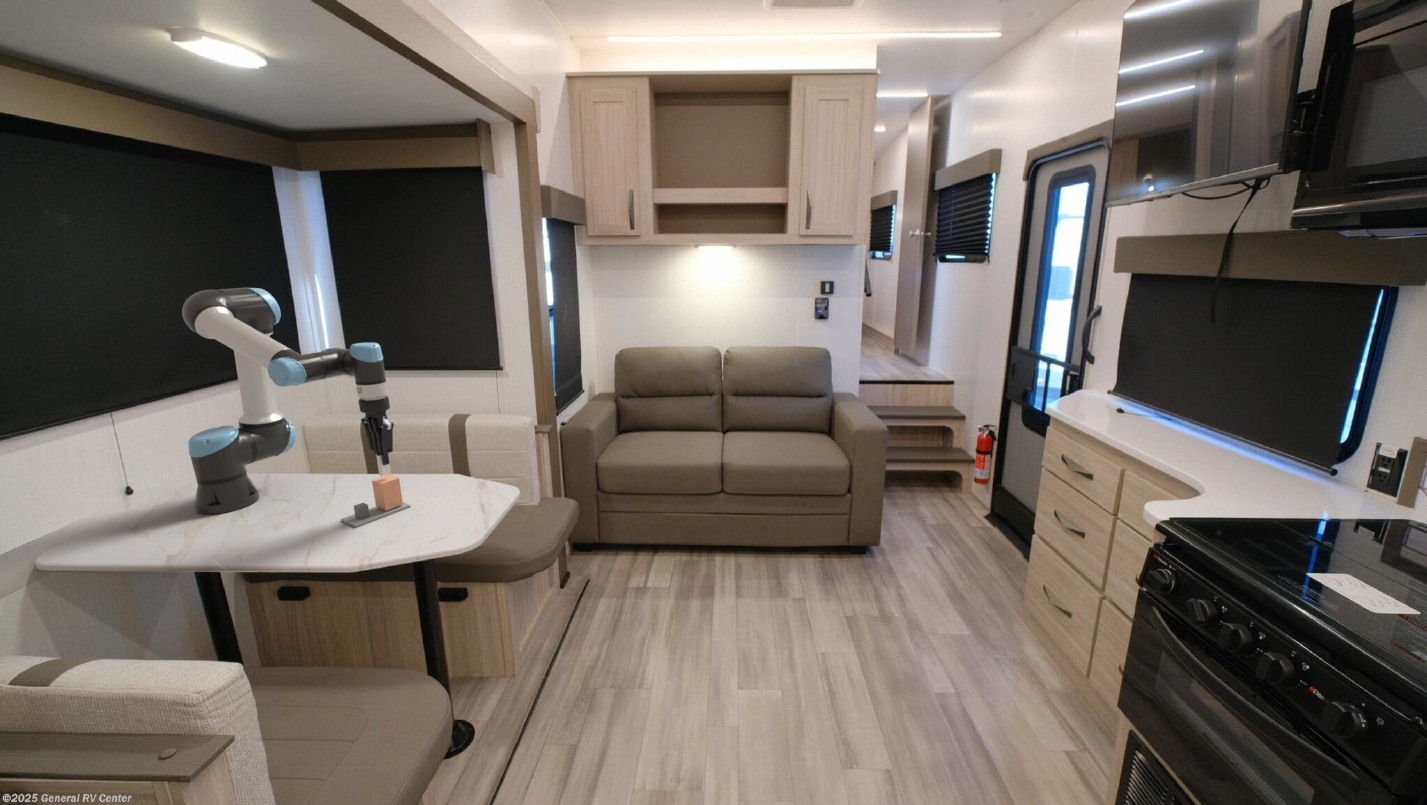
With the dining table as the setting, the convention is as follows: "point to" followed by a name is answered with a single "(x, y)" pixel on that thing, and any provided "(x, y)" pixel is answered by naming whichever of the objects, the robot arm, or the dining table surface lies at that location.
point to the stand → (370, 514)
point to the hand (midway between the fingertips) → (385, 474)
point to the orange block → (387, 492)
